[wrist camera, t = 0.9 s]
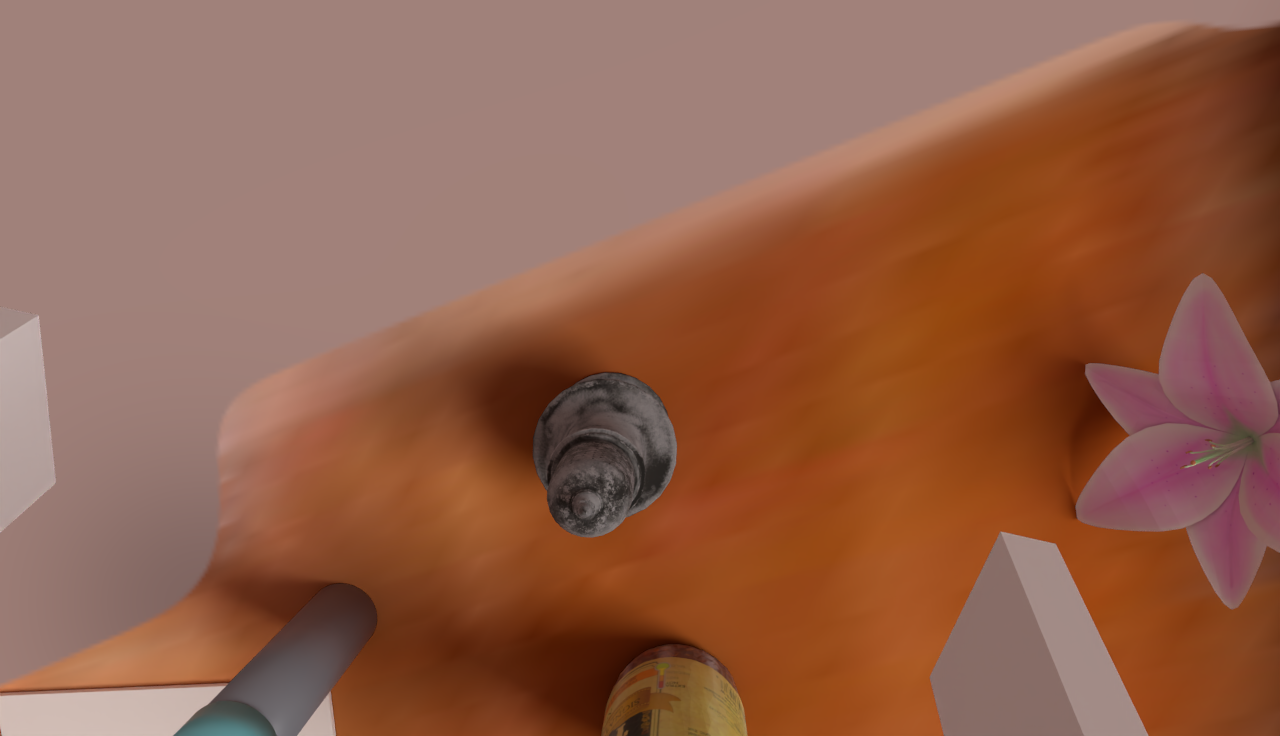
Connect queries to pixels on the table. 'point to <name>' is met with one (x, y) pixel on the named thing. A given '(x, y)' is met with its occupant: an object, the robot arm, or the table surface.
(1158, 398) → the lily
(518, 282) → the table surface
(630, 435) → the dark grey chess piece
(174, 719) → the paper
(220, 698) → the marker
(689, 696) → the sauce bottle
